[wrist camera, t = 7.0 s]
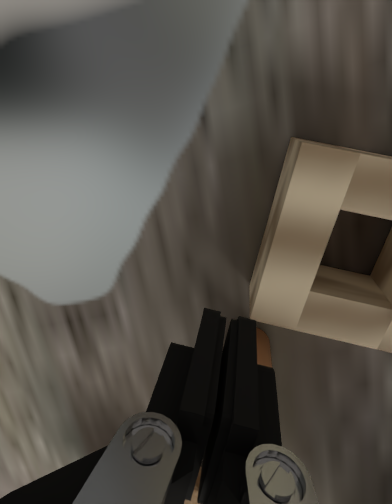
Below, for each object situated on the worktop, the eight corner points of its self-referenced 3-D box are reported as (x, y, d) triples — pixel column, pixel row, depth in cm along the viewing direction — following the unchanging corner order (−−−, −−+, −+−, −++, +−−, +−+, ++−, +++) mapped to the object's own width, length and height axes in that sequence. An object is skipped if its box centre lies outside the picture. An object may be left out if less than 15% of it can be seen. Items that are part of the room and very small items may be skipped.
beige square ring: (394, 318, 26) (424, 360, 22) (249, 285, 27) (249, 319, 23) (469, 171, 22) (529, 186, 17) (291, 136, 22) (302, 142, 18)
